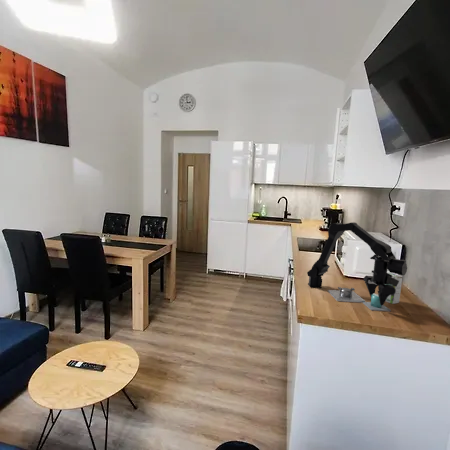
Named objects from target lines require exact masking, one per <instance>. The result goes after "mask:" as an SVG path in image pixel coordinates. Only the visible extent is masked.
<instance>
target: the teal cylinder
mask: <svg viewBox="0 0 450 450" xmlns="http://www.w3.org/2000/svg"><path fill="white" fill-rule="evenodd" d="M370 302H371V306H373V307H376V308H381V307H382V305H380V301H379V295H378V293H376V292H375V293H373V294H372V297H371V296H370Z"/></svg>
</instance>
